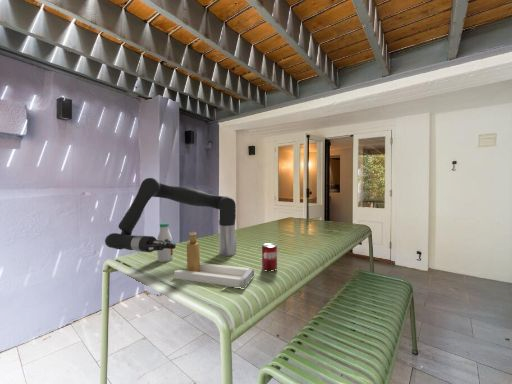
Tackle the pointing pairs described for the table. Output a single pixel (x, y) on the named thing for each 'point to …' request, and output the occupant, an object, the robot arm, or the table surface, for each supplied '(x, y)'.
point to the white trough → (218, 275)
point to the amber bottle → (193, 254)
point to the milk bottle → (164, 234)
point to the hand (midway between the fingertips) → (174, 246)
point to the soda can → (269, 256)
